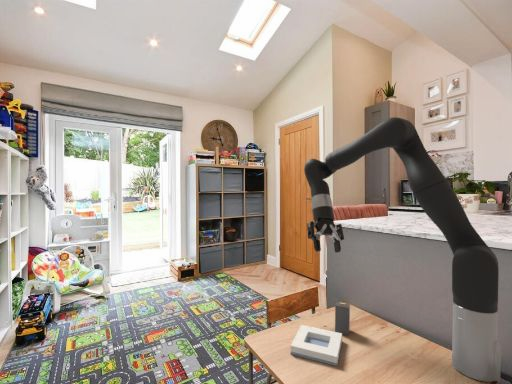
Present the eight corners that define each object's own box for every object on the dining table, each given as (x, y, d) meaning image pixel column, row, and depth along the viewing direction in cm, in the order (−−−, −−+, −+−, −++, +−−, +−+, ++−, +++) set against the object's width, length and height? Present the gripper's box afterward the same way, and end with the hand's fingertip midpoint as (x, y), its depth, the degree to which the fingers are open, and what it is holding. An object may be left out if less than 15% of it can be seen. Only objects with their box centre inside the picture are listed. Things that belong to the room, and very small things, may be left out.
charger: (349, 329, 91) (350, 302, 91) (348, 335, 88) (349, 306, 88) (336, 327, 93) (336, 300, 93) (335, 332, 89) (335, 304, 89)
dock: (342, 341, 84) (342, 333, 84) (337, 366, 72) (337, 356, 72) (301, 332, 89) (301, 324, 89) (290, 354, 77) (290, 345, 77)
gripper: (312, 203, 95) (317, 249, 89) (344, 207, 100) (351, 250, 94) (300, 209, 101) (305, 252, 95) (331, 212, 107) (337, 254, 100)
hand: (328, 251), depth 95 cm, fingers open, 8 cm apart
